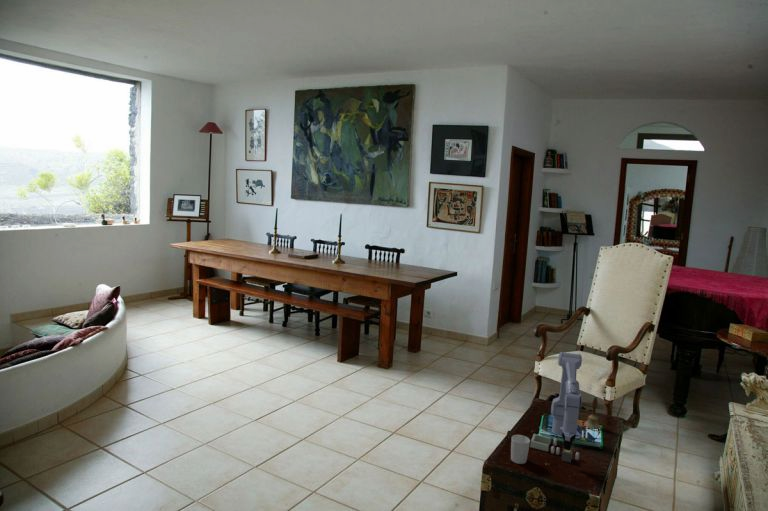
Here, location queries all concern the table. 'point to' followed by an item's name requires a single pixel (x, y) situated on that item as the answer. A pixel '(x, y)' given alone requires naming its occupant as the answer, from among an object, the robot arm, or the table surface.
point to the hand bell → (593, 417)
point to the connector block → (566, 455)
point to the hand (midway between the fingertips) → (567, 449)
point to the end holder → (537, 444)
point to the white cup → (519, 448)
